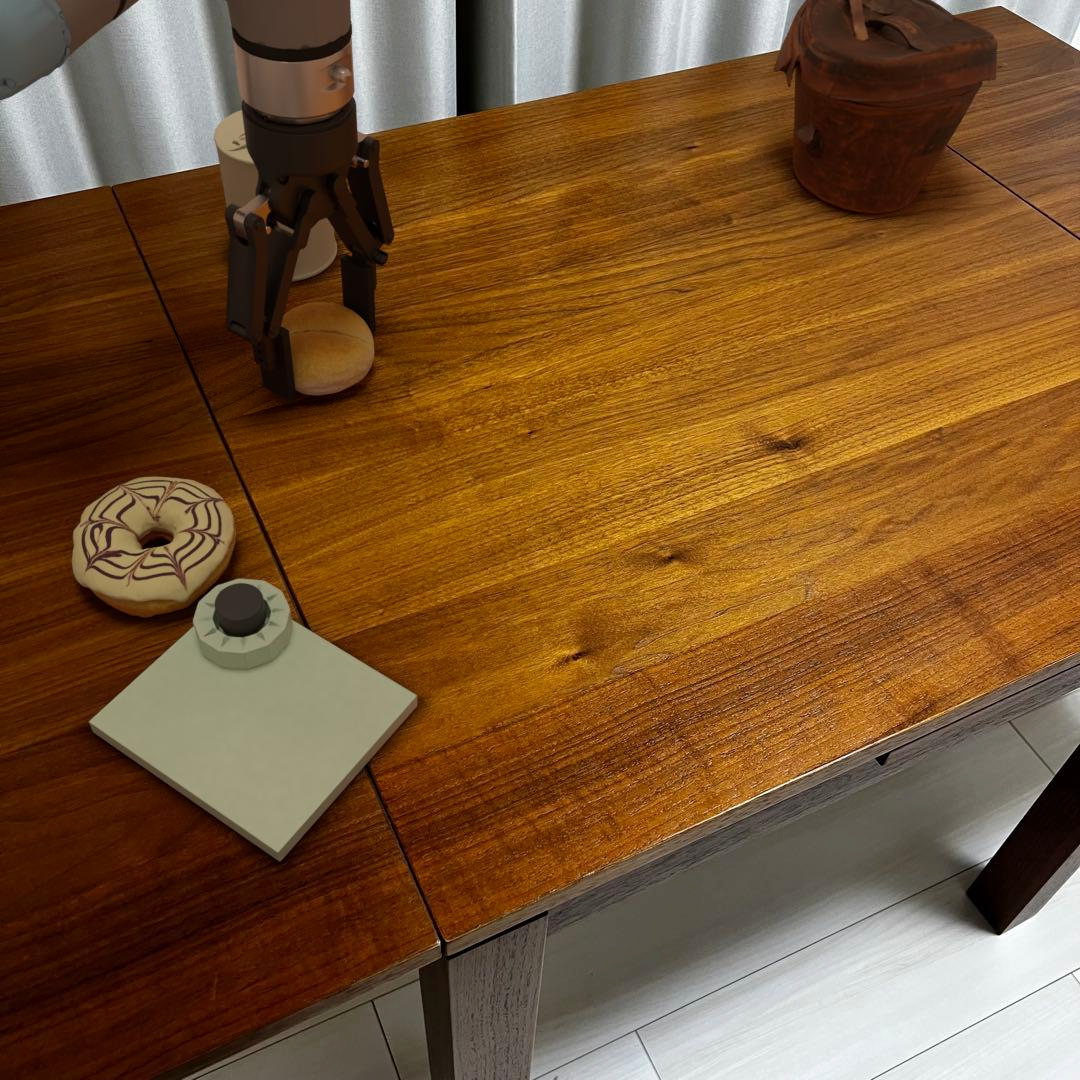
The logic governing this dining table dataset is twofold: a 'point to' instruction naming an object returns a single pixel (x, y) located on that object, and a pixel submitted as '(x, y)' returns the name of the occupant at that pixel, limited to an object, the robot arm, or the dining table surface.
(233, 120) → the can
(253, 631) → the button
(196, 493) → the decorated donut
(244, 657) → the scale
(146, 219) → the dining table surface
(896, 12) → the case
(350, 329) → the bread roll
